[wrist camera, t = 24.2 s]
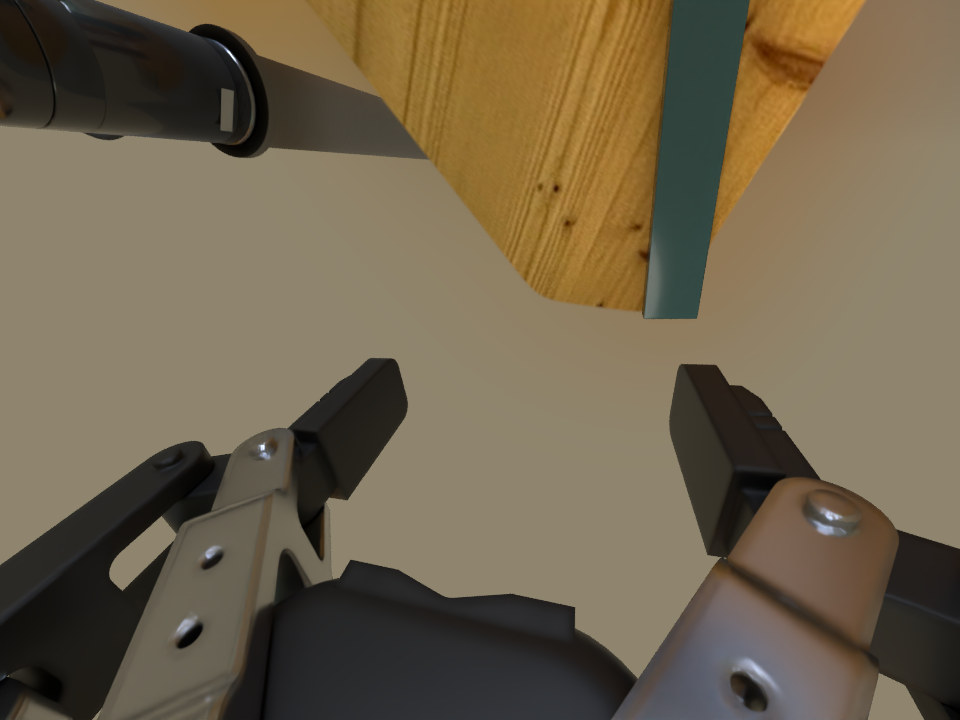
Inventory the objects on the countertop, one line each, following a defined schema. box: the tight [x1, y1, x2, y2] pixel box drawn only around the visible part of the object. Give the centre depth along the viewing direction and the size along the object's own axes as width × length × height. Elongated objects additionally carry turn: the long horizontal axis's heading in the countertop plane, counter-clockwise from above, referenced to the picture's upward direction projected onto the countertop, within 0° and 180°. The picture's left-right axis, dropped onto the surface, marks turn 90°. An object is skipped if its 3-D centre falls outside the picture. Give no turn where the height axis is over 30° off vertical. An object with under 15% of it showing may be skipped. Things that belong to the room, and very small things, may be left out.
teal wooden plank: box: [642, 0, 750, 319], centre depth 27 cm, size 24×4×2 cm, turn 7°
